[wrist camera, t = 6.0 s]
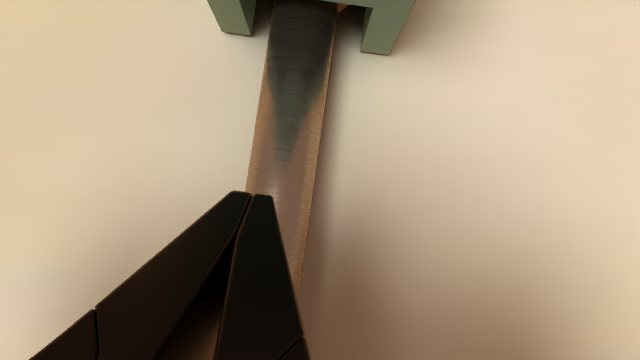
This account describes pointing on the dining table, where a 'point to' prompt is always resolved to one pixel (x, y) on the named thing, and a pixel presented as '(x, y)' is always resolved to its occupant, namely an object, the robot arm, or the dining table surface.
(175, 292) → the robot arm
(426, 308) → the dining table surface
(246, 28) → the sage green notched block
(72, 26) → the dining table surface
